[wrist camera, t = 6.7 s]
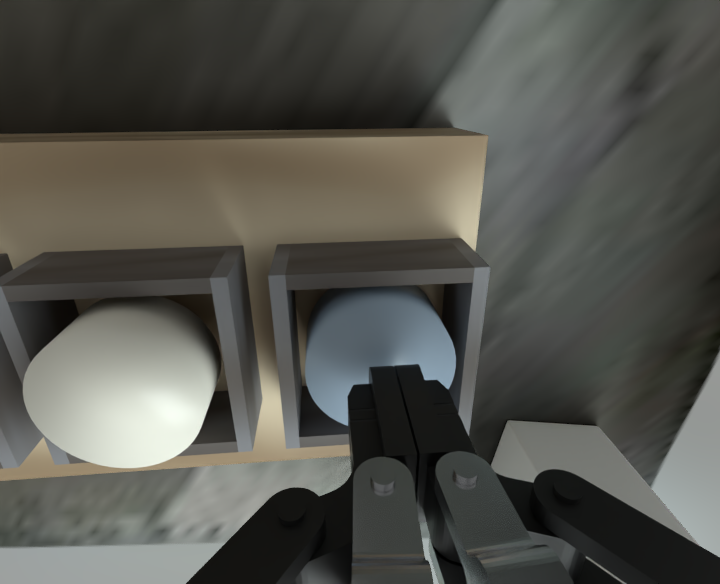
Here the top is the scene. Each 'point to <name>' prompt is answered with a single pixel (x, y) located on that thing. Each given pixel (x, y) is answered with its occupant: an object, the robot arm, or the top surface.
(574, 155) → the top surface
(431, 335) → the slate blue button
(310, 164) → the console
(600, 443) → the milk
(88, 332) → the cream button
